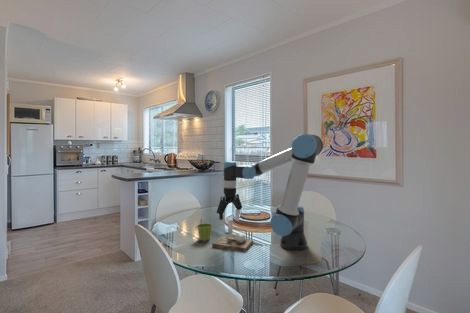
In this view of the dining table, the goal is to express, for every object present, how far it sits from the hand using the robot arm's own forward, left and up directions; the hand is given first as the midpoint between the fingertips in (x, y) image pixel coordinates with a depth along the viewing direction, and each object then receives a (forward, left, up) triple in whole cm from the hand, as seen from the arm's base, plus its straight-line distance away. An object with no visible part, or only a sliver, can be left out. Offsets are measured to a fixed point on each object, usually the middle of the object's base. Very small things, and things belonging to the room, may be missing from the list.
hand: (229, 222), depth 162 cm
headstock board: (-4, +5, -12) cm, 13 cm away
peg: (-4, +1, -9) cm, 10 cm away
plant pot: (+16, +2, -12) cm, 20 cm away
